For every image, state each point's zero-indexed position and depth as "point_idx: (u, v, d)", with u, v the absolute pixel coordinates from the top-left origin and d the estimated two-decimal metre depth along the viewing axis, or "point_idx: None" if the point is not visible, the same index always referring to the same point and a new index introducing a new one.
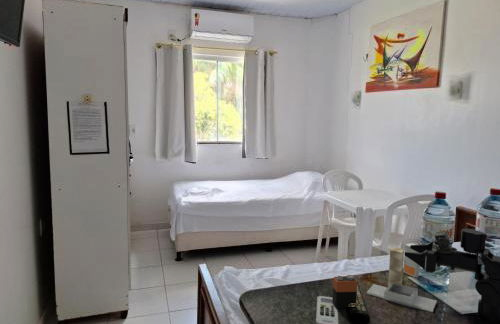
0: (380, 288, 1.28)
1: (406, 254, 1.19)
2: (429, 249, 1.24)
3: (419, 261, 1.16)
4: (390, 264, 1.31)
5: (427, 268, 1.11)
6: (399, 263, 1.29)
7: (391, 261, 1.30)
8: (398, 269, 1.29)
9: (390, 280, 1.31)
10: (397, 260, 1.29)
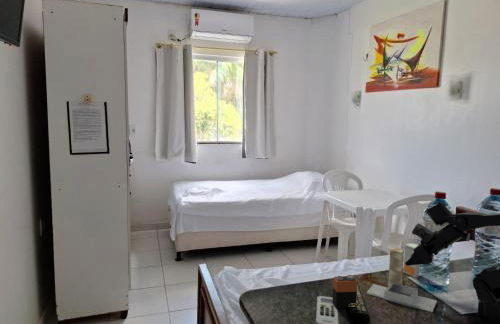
0: (380, 288, 1.28)
1: (407, 263, 1.25)
2: None
3: (418, 261, 1.21)
4: (390, 264, 1.31)
5: (425, 260, 1.17)
6: (399, 263, 1.29)
7: (391, 261, 1.30)
8: (398, 269, 1.29)
9: (390, 280, 1.31)
10: (397, 260, 1.29)
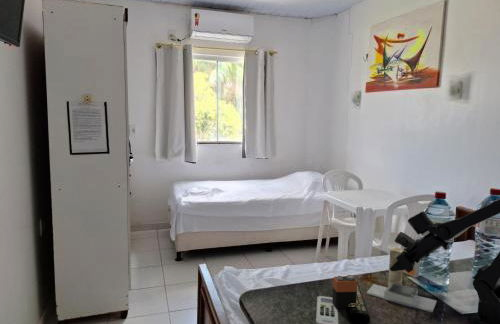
0: (380, 288, 1.28)
1: (391, 269, 1.30)
2: None
3: (402, 266, 1.27)
4: (390, 264, 1.31)
5: (406, 269, 1.21)
6: None
7: (391, 261, 1.30)
8: None
9: (390, 280, 1.31)
10: (397, 260, 1.29)
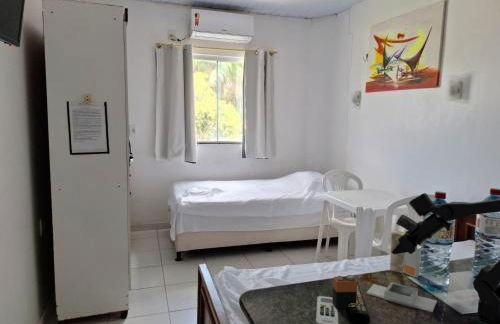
0: (380, 288, 1.28)
1: (393, 252, 1.28)
2: None
3: (404, 249, 1.25)
4: (392, 247, 1.29)
5: (408, 250, 1.19)
6: None
7: (393, 244, 1.29)
8: None
9: (392, 263, 1.30)
10: (399, 242, 1.28)
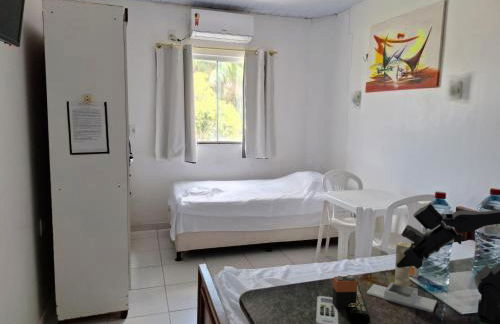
0: (380, 288, 1.28)
1: (398, 265, 1.20)
2: None
3: (410, 262, 1.17)
4: (396, 260, 1.21)
5: (415, 264, 1.10)
6: None
7: (397, 257, 1.20)
8: None
9: (396, 277, 1.21)
10: (404, 255, 1.19)
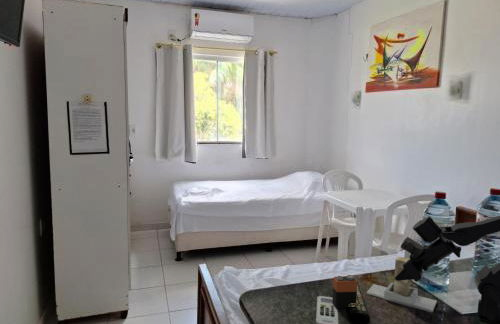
0: (380, 288, 1.28)
1: (396, 278, 1.19)
2: None
3: (408, 276, 1.16)
4: (395, 275, 1.21)
5: (414, 278, 1.11)
6: None
7: (396, 271, 1.21)
8: (404, 280, 1.20)
9: (395, 292, 1.21)
10: None
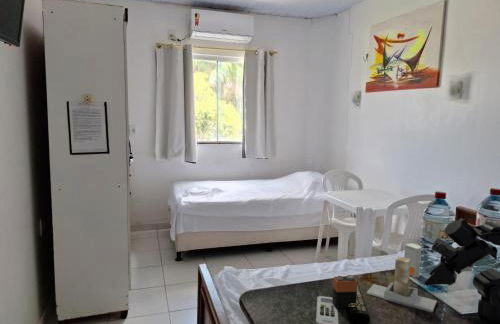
0: (380, 288, 1.28)
1: (426, 283, 1.13)
2: None
3: (439, 280, 1.10)
4: (395, 275, 1.21)
5: (447, 281, 1.05)
6: (405, 274, 1.19)
7: (396, 271, 1.21)
8: (404, 280, 1.20)
9: (395, 292, 1.21)
10: (403, 270, 1.20)
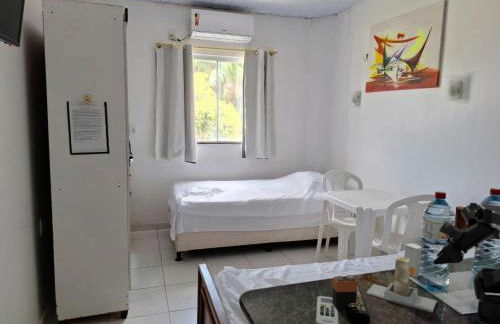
0: (380, 288, 1.28)
1: (435, 262, 1.21)
2: None
3: (447, 259, 1.18)
4: (395, 275, 1.21)
5: (455, 259, 1.14)
6: (405, 274, 1.19)
7: (396, 271, 1.21)
8: (404, 280, 1.20)
9: (395, 292, 1.21)
10: (403, 270, 1.20)
